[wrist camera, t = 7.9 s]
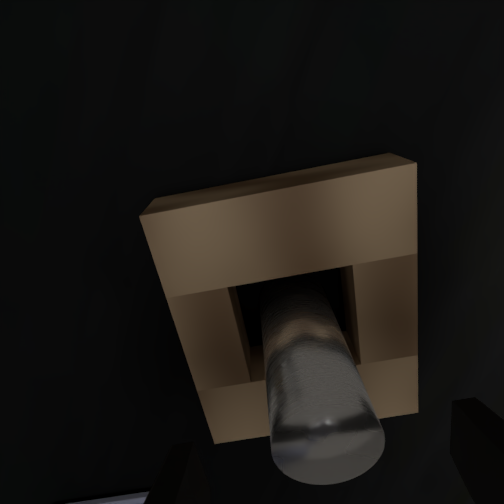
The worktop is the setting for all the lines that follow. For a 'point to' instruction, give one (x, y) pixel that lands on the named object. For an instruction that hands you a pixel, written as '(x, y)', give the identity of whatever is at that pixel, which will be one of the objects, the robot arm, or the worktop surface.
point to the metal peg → (314, 387)
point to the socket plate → (288, 264)
